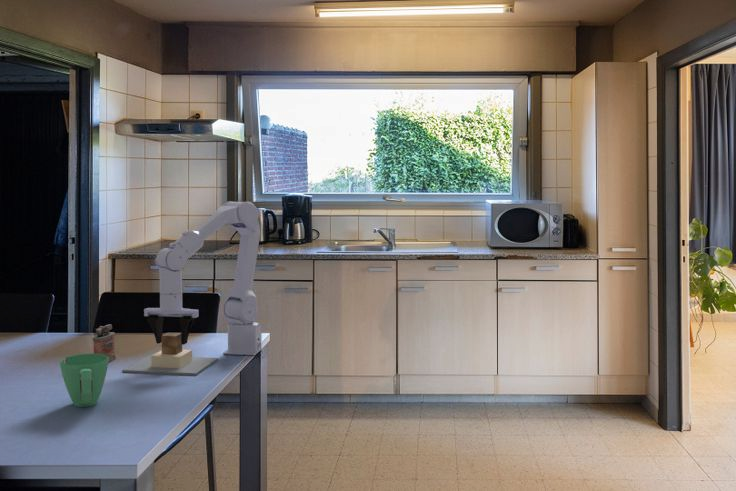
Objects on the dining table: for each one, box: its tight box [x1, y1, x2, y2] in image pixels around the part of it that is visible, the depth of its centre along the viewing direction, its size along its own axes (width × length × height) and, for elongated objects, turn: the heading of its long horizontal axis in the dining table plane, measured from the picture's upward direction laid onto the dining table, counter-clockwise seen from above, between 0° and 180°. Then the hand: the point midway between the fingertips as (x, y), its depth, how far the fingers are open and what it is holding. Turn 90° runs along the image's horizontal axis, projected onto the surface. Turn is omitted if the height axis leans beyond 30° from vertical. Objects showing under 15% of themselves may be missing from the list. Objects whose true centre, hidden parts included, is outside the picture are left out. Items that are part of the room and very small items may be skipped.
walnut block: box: [161, 332, 183, 355], centre depth 178 cm, size 4×4×5 cm
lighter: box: [92, 323, 116, 364], centre depth 182 cm, size 8×3×10 cm, turn 168°
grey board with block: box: [121, 348, 219, 377], centre depth 178 cm, size 20×16×4 cm
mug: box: [59, 353, 109, 408], centre depth 144 cm, size 15×10×10 cm
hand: (171, 343), depth 178 cm, fingers open, 6 cm apart
